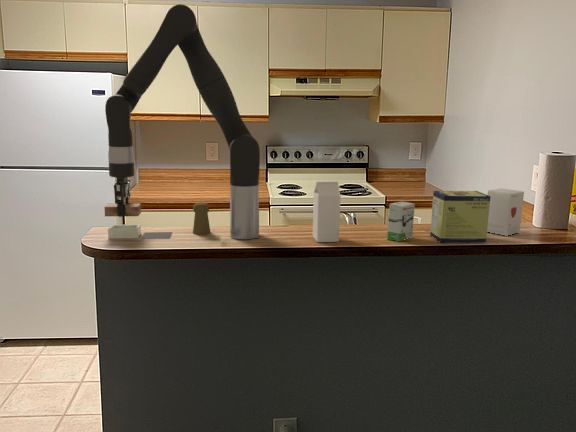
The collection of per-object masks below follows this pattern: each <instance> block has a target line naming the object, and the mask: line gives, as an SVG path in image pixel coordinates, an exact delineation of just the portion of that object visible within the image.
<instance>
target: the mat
mask: <svg viewBox="0 0 576 432" xmlns="http://www.w3.org/2000/svg"><path fill="white" fill-rule="evenodd" d="M172 235H173V231H160V232H159V231H153V232H152V231H151V232H150V231H149V232H147V231H146V232H145V231H144V233H143V235H142V236H141V238H140V240H170V239H171V238H172Z"/></svg>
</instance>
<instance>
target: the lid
mask: <svg viewBox="0 0 576 432" xmlns="http://www.w3.org/2000/svg"><path fill="white" fill-rule="evenodd" d="M141 213H142V204H141V203H139V202H138V203H134V202H133V203H130V202H129V203H125V216H124V217H139V216H140V215H141ZM104 217H119V216H118V211H117V204H115V202H114V203H107V204H106V205H105V206H104Z"/></svg>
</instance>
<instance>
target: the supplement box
mask: <svg viewBox="0 0 576 432" xmlns="http://www.w3.org/2000/svg"><path fill="white" fill-rule="evenodd" d="M487 195H489V196H491V197H490V207H489V217H488V226H487V233H488V232H490V233H489V234H492V233H495V234H494V235H497V234H501V235H500V236H502V235H505V236H504V237H506V236H507V237H509V236H508V235H511V236H513V235H512V234H515V233H519V232H520V231H521V223H522V215H523V214H522V213H523V207H524V206H523V205H524V197H525V196H524V195H525V191H523V190H522V191H521V190H514V189H508V188H496V189H495V188H494V189H489V190H487ZM519 234H520V233H519ZM515 235H516V234H515Z"/></svg>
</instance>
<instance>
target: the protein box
mask: <svg viewBox="0 0 576 432" xmlns="http://www.w3.org/2000/svg"><path fill="white" fill-rule="evenodd" d="M432 193H433V194H432V196H433V197H432V205H431V221H430V232H429V233H430V234H429V235H431V236H430V237H432V236H433V237H434V239H435V238H436V239H437V240H438V241H437V240H436V239H435V240H436V241H437V242H439V241H440V242H486V243H487V237H488V236H487V234H488V232H487V226H488V217H489V207H490V197H491V196H489V195H488V194H485V193H484V192H481V191H478V190H433V192H432ZM433 237H432V238H433ZM440 242H439V243H440Z"/></svg>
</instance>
